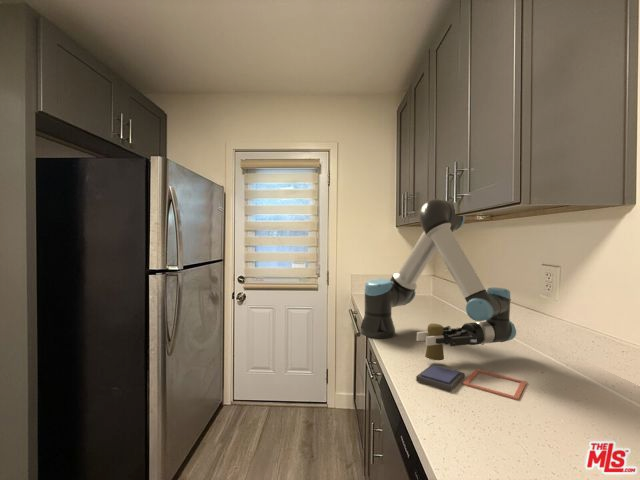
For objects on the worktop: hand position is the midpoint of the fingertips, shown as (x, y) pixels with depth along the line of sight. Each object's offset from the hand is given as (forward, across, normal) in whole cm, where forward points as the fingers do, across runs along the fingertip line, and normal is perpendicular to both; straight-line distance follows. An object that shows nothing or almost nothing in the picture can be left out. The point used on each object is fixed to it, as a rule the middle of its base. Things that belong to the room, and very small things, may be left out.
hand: (421, 338), depth 109 cm
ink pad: (+1, -11, -9) cm, 14 cm away
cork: (-5, 0, -7) cm, 9 cm away
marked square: (-12, -18, -9) cm, 23 cm away
